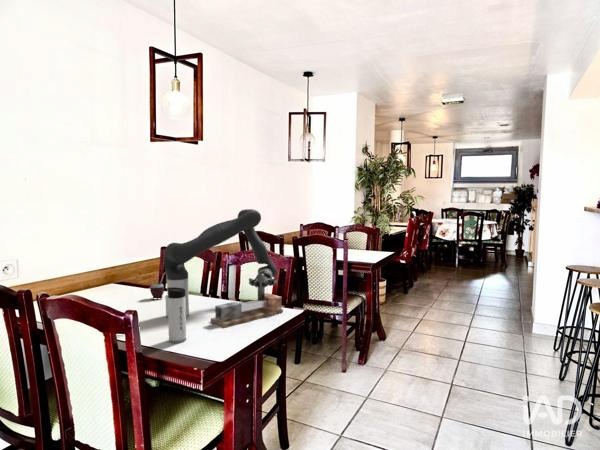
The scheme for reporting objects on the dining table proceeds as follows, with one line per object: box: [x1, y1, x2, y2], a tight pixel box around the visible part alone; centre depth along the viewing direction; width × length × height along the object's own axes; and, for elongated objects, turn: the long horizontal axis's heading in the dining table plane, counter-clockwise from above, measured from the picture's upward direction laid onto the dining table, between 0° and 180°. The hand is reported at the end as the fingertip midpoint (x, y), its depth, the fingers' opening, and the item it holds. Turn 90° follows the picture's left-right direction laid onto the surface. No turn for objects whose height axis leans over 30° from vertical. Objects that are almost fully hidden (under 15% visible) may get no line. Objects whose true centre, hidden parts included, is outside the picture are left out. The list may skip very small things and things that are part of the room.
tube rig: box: [210, 292, 284, 328], centre depth 181 cm, size 32×11×8 cm, turn 134°
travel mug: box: [166, 287, 187, 344], centre depth 150 cm, size 6×7×20 cm
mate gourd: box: [149, 272, 166, 299], centre depth 216 cm, size 8×8×15 cm
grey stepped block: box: [240, 273, 268, 312], centre depth 182 cm, size 22×3×15 cm, turn 134°
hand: (260, 285), depth 183 cm, fingers closed on grey stepped block, 3 cm apart
